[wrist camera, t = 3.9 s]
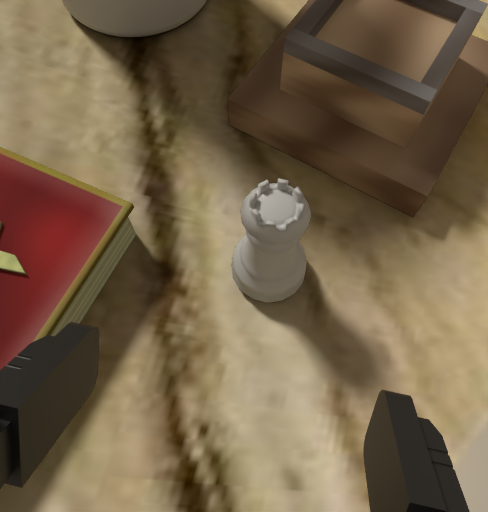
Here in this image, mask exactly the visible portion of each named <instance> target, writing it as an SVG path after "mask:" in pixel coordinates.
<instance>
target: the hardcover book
mask: <svg viewBox="0 0 488 512" xmlns="http://www.w3.org/2000/svg"><path fill="white" fill-rule="evenodd" d="M133 208H134V206H133V204H132V203H130V202H128V201H125V200H123V199H121V198H118V197H116V196H114V195H111V194H109V193H107V192H104V191H102V190H100V189H97V188H95V187H93V186H90V185H88V184H86V183H83V182H81V181H79V180H76V179H74V178H72V177H69V176H67V175H65V174H62V173H60V172H58V171H55V170H53V169H51V168H48V167H46V166H44V165H41V164H39V163H37V162H34V161H32V160H30V159H27V158H25V157H23V156H20V155H18V154H16V153H13V152H11V151H9V150H6V149H4V148H2V147H0V370H1V369H2V368H3V367H4V366H7V364H8V363H9V362H10V361H11V360H12V359H13V358H14V357H17V356H18V354H19V353H20V352H21V351H22V350H23V349H24V348H25V347H27V346H28V345H29V344H30V343H32V342H34V341H36V340H38V339H40V338H43V337H45V336H47V335H50V336H56V335H57V334H58V333H59V332H60V331H61V330H62V329H63V328H64V327H65V326H66V325H67V324H68V323H70V322H74V323H79V324H80V323H81V321H82V319H83V318H84V316H85V315H86V313H87V312H88V310H89V308H90V307H91V305H92V304H93V302H94V300H95V299H96V297H97V296H98V294H99V293H100V291H101V289H102V288H103V286H104V285H105V283H106V282H107V280H108V278H109V277H110V275H111V274H112V272H113V270H114V269H115V267H116V266H117V264H118V263H119V261H120V259H121V258H122V256H123V255H124V253H125V251H126V250H127V248H128V247H129V245H130V244H131V242H132V240H133V239H134V237H135V236H136V233H135V231H134V228H133V226H132V224H131V222H130V220H129V218H128V216H129V214H130V213H131V211H132V210H133Z"/></svg>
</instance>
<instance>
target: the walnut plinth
mask: <svg viewBox="0 0 488 512" xmlns="http://www.w3.org/2000/svg"><path fill="white" fill-rule="evenodd" d="M487 5H488V4H487V3H484V2H481V1H479V0H308V2H307V3H306V4H305V5H304V7H303V8H302V9H301V10H300V11H299V13H298V14H297V15H296V16H295V17H294V19H293V20H292V21H291V22H290V24H289V25H288V26H287V27H286V28H285V30H284V31H283V32H282V33H281V34H280V36H279V37H278V38H277V39H276V40H275V42H274V43H273V44H272V45H271V47H270V48H269V49H268V50H267V51H266V53H265V54H264V55H263V56H262V57H261V59H260V60H259V61H258V62H257V64H256V65H255V66H254V67H253V68H252V70H251V71H250V72H249V73H248V74H247V76H246V77H245V78H244V79H243V81H242V82H241V83H240V84H239V85H238V87H237V88H236V89H235V90H234V91H233V93H232V94H231V95H230V96H229V97H228V99H227V101H228V122H229V125H231V126H233V127H235V128H237V129H239V130H241V131H243V132H245V133H247V134H249V135H251V136H253V137H255V138H257V139H259V140H261V141H263V142H265V143H267V144H269V145H271V146H273V147H275V148H277V149H279V150H281V151H283V152H285V153H287V154H288V155H290V156H292V157H294V158H296V159H298V160H300V161H302V162H304V163H306V164H308V165H310V166H312V167H314V168H316V169H318V170H320V171H322V172H324V173H326V174H328V175H330V176H332V177H334V178H336V179H338V180H340V181H342V182H344V183H346V184H348V185H350V186H352V187H354V188H356V189H358V190H360V191H362V192H364V193H366V194H368V195H370V196H372V197H374V198H376V199H378V200H380V201H382V202H384V203H386V204H388V205H390V206H392V207H394V208H396V209H398V210H400V211H402V212H404V213H406V214H408V215H410V216H412V217H414V215H415V214H416V212H417V211H418V210H419V208H420V207H421V206H422V204H423V203H424V201H425V200H426V199H427V197H428V195H429V194H430V192H431V190H432V188H433V186H434V184H435V182H436V180H437V179H438V177H439V175H440V173H441V171H442V169H443V167H444V165H445V164H446V162H447V160H448V158H449V156H450V154H451V152H452V150H453V148H454V147H455V145H456V143H457V141H458V139H459V137H460V135H461V133H462V132H463V130H464V128H465V126H466V124H467V122H468V120H469V118H470V117H471V115H472V113H473V111H474V109H475V107H476V105H477V103H478V102H479V100H480V98H481V96H482V94H483V92H484V90H485V88H486V86H487V85H488V41H485V40H483V39H480V38H478V37H475V36H473V35H471V34H472V33H473V31H474V29H475V27H476V25H477V23H478V22H479V20H480V18H481V16H482V14H483V12H484V11H485V9H486V7H487Z"/></svg>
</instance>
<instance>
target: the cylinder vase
mask: <svg viewBox="0 0 488 512" xmlns="http://www.w3.org/2000/svg"><path fill="white" fill-rule="evenodd" d="M206 1H207V0H62V2H63V4H64V5H65V7H66V8H67V10H68V11H69V12H70V13H71V14H72V16H73V17H75V18H76V19H77V20H78V21H79V22H81V23H82V24H84V25H85V26H87V27H89V28H91V29H93V30H95V31H98V32H101V33H104V34H108V35H113V36H119V37H143V36H150V35H155V34H159V33H163V32H166V31H169V30H171V29H173V28H176V27H178V26H180V25H181V24H183V23H185V22H186V21H188V20H189V19H191V18H192V17H193V16H194V15H195V14H196V13H197V12H198V11H199V10H200V9H201V8H202V7H203V6H204V4H205V3H206Z"/></svg>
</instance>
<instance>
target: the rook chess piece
mask: <svg viewBox="0 0 488 512" xmlns="http://www.w3.org/2000/svg"><path fill="white" fill-rule="evenodd" d="M288 182H289V181H288V180H284V179H279V178H278V183H272V184H269V182H268V180H265V181H263V182H261V183H259V184H258V188H256V189H254V190H252V191H251V192H250V193H249V194H248V195H247V197H246V198H245V199H244V201H243V204H242V207H241V211H240V212H241V219H242V224H243V225H244V227H245V229H246V235H245V236H244V237H243V238H242V239H241V240H240V242H239V243H238V244H237V245H236V248H235V251H234V254H233V257H232V264H231V266H232V274H233V279H234V280H235V282H236V284H237V285H238V287H239V289H240V290H241V291H242V292H244V293H245V294H246V295H248V296H249V297H251V298H252V299H255V300H259V301H263V302H275V301H282V300H284V299H286V298H288V297H289V296H291V295H293V294H295V292H296V291H297V290H298V288H299V287H300V286H301V284H302V283H303V281H304V276H305V272H306V265H307V261H306V256H305V252H304V248H303V247H302V245H301V244H300V242H299V240H300V238H301V236H302V234H303V233H304V232H305V231H306V229H307V228H308V227H309V223H310V218H311V211H310V207H309V203H308V202H307V200H306V199H305V197H304V196H303V195H304V194H303V193H302V192H301V190H300V189H299V187H298V186H297V187H296V188H295V189H294V188H293V187H291V186H288Z"/></svg>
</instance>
